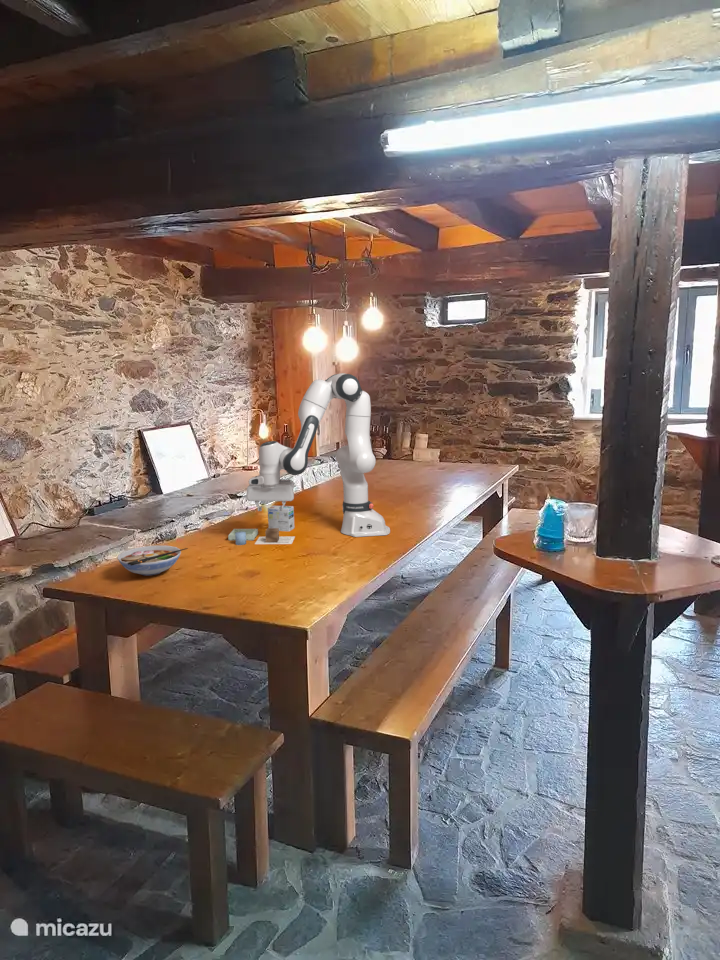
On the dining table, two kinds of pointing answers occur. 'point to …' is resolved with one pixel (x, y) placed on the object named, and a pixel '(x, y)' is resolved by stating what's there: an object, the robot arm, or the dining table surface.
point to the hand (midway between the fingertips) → (270, 510)
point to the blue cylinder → (240, 538)
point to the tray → (250, 534)
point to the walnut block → (272, 534)
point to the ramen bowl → (149, 559)
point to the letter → (281, 540)
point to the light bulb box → (281, 518)
